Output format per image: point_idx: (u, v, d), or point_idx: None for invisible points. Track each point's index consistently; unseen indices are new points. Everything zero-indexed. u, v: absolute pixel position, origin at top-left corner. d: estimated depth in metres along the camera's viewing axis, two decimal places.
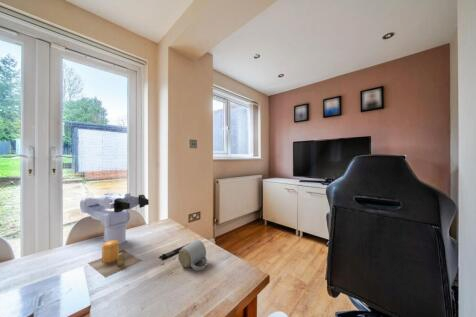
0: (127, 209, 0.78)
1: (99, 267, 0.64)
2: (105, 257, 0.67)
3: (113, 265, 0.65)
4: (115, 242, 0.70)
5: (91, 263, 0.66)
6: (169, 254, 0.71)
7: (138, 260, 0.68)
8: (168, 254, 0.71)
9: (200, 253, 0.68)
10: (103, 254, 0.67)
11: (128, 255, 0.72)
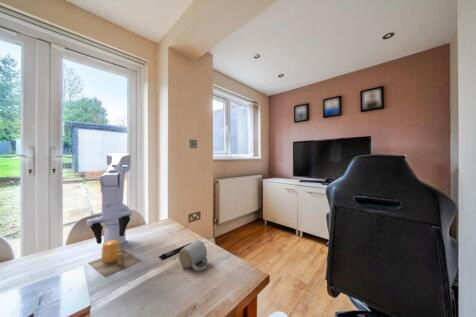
0: None
1: (99, 267, 0.64)
2: (105, 257, 0.67)
3: (113, 265, 0.65)
4: (115, 242, 0.70)
5: (91, 263, 0.66)
6: (169, 254, 0.72)
7: (138, 260, 0.68)
8: (168, 254, 0.72)
9: (201, 253, 0.67)
10: (103, 254, 0.67)
11: (128, 255, 0.72)
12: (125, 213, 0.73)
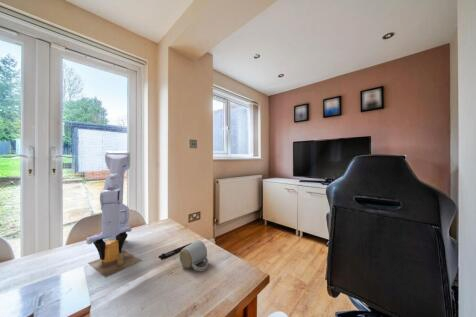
0: None
1: (99, 267, 0.64)
2: (105, 257, 0.67)
3: (113, 265, 0.65)
4: (115, 242, 0.70)
5: (91, 263, 0.66)
6: (169, 254, 0.72)
7: (138, 260, 0.68)
8: (168, 254, 0.72)
9: (201, 254, 0.67)
10: None
11: (128, 255, 0.72)
12: (125, 229, 0.73)
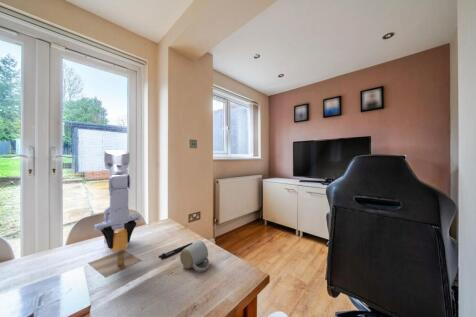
0: None
1: (99, 267, 0.64)
2: (113, 246, 0.63)
3: (113, 265, 0.65)
4: (124, 230, 0.66)
5: (91, 263, 0.66)
6: (169, 254, 0.72)
7: (138, 260, 0.68)
8: (168, 254, 0.72)
9: (202, 254, 0.67)
10: None
11: (128, 255, 0.72)
12: (134, 217, 0.69)
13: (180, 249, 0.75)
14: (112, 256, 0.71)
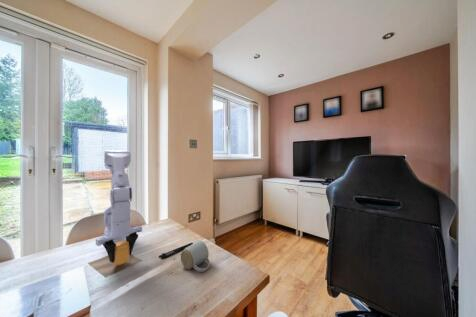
0: None
1: (99, 267, 0.64)
2: (115, 259, 0.63)
3: (113, 265, 0.65)
4: (125, 243, 0.66)
5: (91, 263, 0.66)
6: (169, 253, 0.72)
7: (138, 260, 0.68)
8: (168, 253, 0.72)
9: (202, 254, 0.67)
10: None
11: None
12: (135, 229, 0.68)
13: (180, 249, 0.75)
14: None
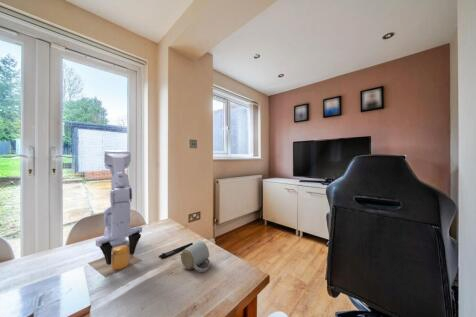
0: None
1: (99, 267, 0.64)
2: (115, 264, 0.63)
3: None
4: (125, 247, 0.66)
5: (91, 263, 0.66)
6: (169, 253, 0.72)
7: (138, 260, 0.68)
8: (168, 253, 0.72)
9: (203, 254, 0.67)
10: (113, 260, 0.63)
11: None
12: (135, 230, 0.68)
13: (180, 249, 0.76)
14: None
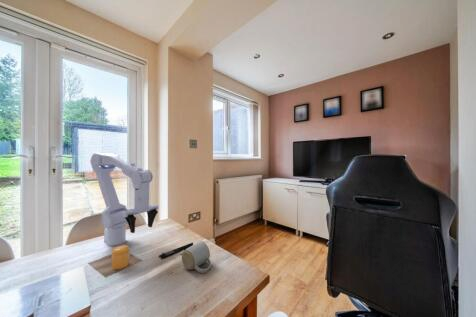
0: None
1: (99, 267, 0.64)
2: (115, 264, 0.63)
3: None
4: (125, 247, 0.66)
5: (91, 263, 0.66)
6: (169, 253, 0.72)
7: (138, 260, 0.68)
8: (168, 253, 0.72)
9: (204, 255, 0.66)
10: (113, 260, 0.63)
11: None
12: (153, 206, 0.81)
13: (180, 249, 0.76)
14: None
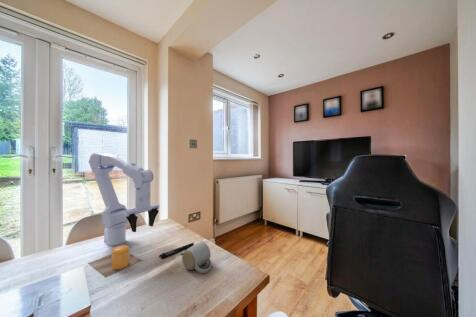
0: None
1: (99, 267, 0.64)
2: (115, 264, 0.63)
3: None
4: (125, 247, 0.66)
5: (91, 263, 0.66)
6: (169, 253, 0.72)
7: (138, 260, 0.68)
8: (168, 253, 0.72)
9: (204, 255, 0.66)
10: (113, 260, 0.63)
11: None
12: (154, 206, 0.82)
13: (180, 249, 0.75)
14: None
